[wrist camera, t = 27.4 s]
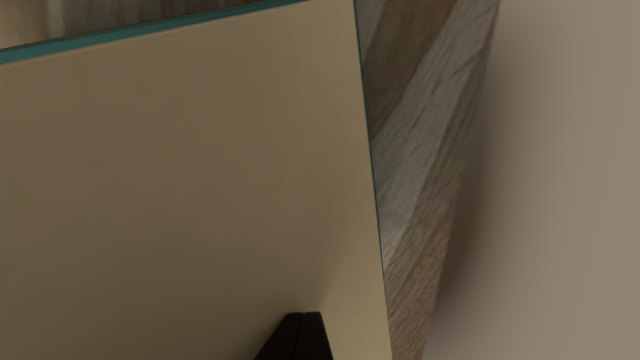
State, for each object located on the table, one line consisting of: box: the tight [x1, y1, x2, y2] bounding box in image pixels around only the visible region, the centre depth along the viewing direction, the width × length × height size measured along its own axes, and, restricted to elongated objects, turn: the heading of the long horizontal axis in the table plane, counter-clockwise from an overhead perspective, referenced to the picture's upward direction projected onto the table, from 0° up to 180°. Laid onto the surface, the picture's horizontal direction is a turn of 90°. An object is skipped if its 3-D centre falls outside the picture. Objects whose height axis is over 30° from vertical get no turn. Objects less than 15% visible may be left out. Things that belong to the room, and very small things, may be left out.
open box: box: [0, 0, 386, 299], centre depth 17 cm, size 16×14×9 cm
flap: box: [0, 0, 392, 360], centre depth 9 cm, size 8×14×1 cm
